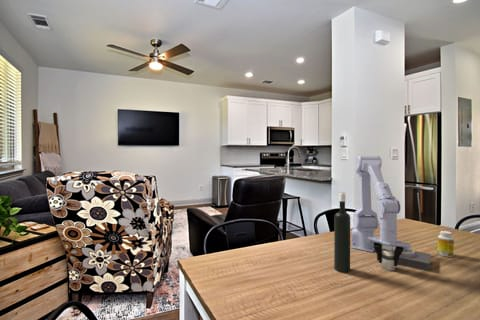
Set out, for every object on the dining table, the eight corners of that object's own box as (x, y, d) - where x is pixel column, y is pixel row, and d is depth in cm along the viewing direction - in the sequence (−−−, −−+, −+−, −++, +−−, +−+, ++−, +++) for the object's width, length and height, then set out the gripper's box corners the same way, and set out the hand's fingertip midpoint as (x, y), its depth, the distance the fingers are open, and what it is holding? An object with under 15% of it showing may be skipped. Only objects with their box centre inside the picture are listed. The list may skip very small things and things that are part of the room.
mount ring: (391, 254, 109) (391, 250, 109) (394, 248, 115) (394, 245, 115) (414, 258, 104) (414, 254, 104) (415, 252, 110) (415, 249, 110)
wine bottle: (349, 267, 104) (349, 191, 103) (350, 273, 98) (351, 193, 97) (334, 265, 105) (334, 191, 105) (334, 271, 100) (334, 193, 99)
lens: (380, 268, 102) (380, 250, 102) (382, 264, 106) (382, 247, 106) (394, 271, 99) (394, 253, 99) (396, 267, 103) (396, 249, 103)
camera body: (376, 259, 111) (377, 250, 110) (382, 251, 120) (382, 242, 120) (429, 271, 100) (429, 260, 99) (430, 261, 109) (430, 251, 109)
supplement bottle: (450, 258, 112) (451, 234, 111) (435, 254, 116) (435, 231, 116) (455, 255, 115) (456, 232, 114) (440, 251, 119) (440, 229, 119)
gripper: (365, 228, 104) (365, 262, 104) (409, 235, 95) (409, 272, 95) (369, 224, 109) (369, 257, 110) (411, 230, 100) (410, 265, 101)
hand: (388, 263), depth 103 cm, fingers closed on lens, 5 cm apart
